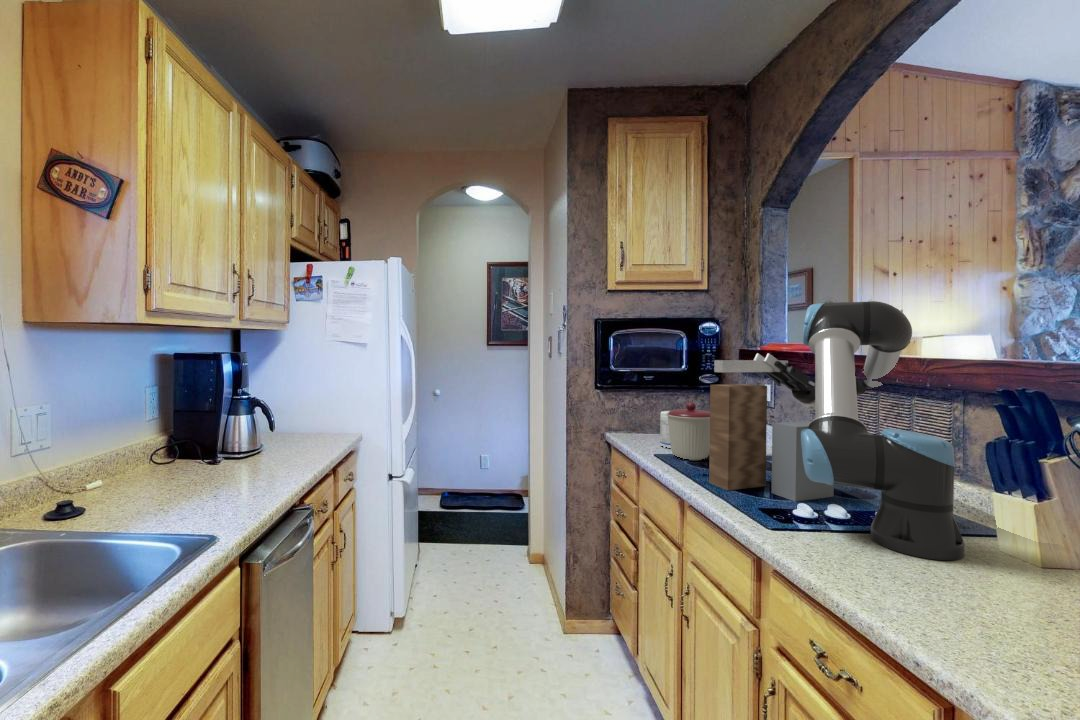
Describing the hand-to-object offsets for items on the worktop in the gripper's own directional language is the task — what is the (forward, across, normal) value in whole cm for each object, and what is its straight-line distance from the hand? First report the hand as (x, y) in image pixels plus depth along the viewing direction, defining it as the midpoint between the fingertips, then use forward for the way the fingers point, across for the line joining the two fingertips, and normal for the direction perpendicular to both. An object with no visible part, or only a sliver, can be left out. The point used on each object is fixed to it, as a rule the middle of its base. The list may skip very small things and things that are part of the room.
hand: (761, 357), depth 143 cm
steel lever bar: (+1, 0, -6) cm, 6 cm away
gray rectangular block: (-20, -14, -33) cm, 41 cm away
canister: (-20, +35, -33) cm, 52 cm away
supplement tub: (-25, +55, -30) cm, 67 cm away
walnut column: (-12, 0, -38) cm, 39 cm away
